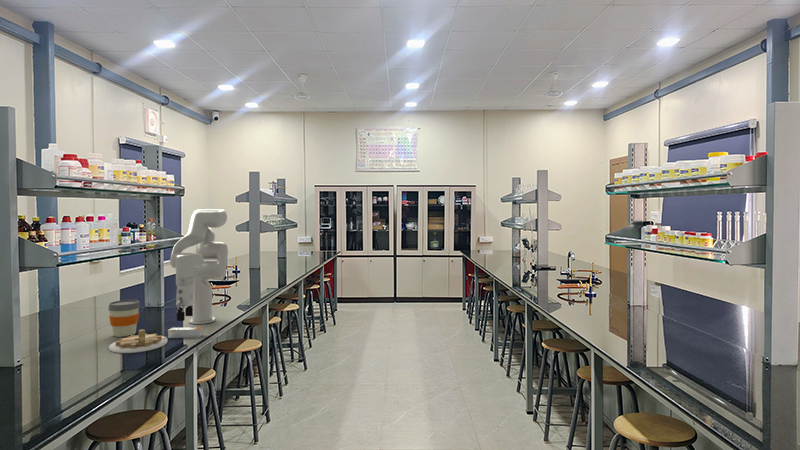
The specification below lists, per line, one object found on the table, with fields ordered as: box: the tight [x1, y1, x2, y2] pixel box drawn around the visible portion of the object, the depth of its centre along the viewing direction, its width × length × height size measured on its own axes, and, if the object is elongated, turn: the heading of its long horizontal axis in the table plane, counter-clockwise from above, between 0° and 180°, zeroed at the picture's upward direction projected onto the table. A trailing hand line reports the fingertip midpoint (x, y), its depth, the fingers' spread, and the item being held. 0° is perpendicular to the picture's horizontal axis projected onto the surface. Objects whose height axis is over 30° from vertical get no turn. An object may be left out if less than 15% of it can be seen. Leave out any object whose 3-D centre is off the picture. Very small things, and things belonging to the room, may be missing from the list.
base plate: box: [108, 335, 169, 354], centre depth 196 cm, size 22×22×2 cm
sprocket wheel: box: [115, 329, 163, 348], centre depth 195 cm, size 17×17×6 cm
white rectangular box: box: [167, 326, 204, 339], centre depth 209 cm, size 4×14×4 cm, turn 94°
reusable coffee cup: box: [108, 299, 140, 338], centre depth 212 cm, size 13×13×15 cm
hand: (184, 318), depth 208 cm, fingers open, 9 cm apart
